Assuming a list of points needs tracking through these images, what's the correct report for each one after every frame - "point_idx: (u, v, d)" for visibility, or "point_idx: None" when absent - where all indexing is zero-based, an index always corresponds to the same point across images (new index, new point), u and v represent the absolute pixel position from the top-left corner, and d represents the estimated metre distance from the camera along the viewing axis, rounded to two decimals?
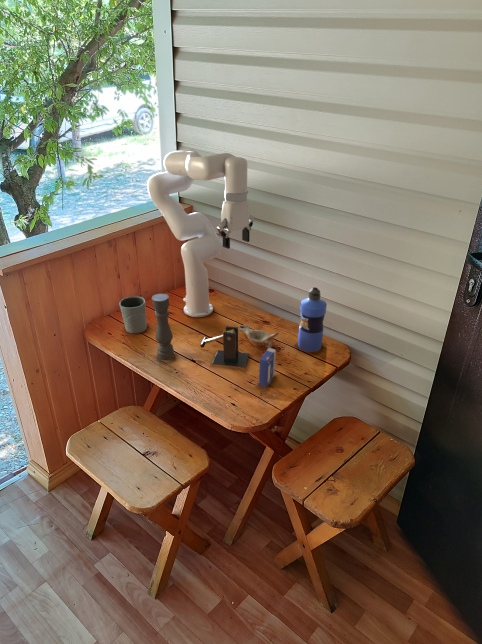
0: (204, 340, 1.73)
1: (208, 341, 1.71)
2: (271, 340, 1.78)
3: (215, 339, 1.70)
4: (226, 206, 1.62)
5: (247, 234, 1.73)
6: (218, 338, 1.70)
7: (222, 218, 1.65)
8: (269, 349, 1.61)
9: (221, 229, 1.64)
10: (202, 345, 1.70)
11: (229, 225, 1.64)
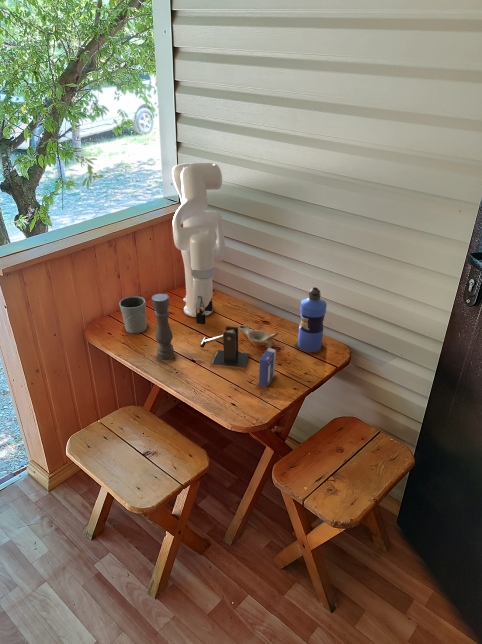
0: (204, 340, 1.73)
1: (208, 341, 1.71)
2: (271, 340, 1.78)
3: (215, 339, 1.70)
4: (199, 284, 1.56)
5: (210, 304, 1.70)
6: (218, 338, 1.70)
7: (195, 296, 1.58)
8: (269, 349, 1.61)
9: (199, 308, 1.57)
10: (202, 345, 1.70)
11: (205, 301, 1.59)
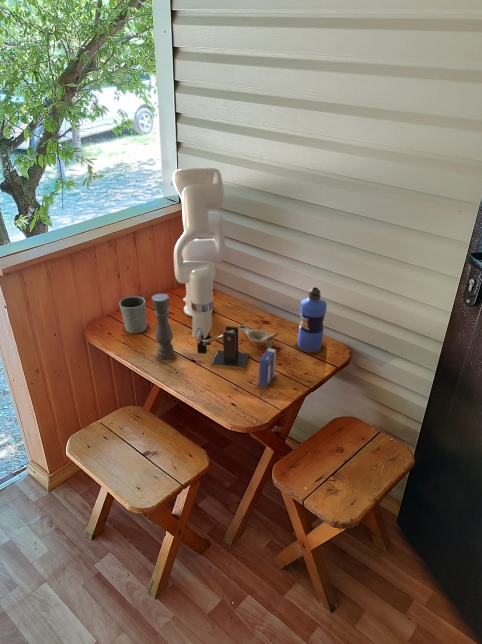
0: None
1: (208, 341, 1.71)
2: (271, 340, 1.78)
3: (215, 339, 1.70)
4: (199, 317, 1.62)
5: (208, 338, 1.75)
6: (218, 338, 1.70)
7: (194, 328, 1.64)
8: (269, 349, 1.61)
9: (200, 341, 1.65)
10: None
11: (205, 333, 1.65)
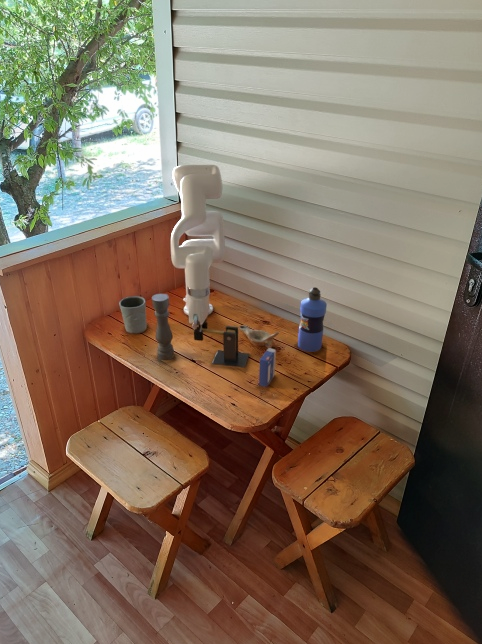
0: (202, 328, 1.70)
1: (205, 331, 1.69)
2: (271, 340, 1.78)
3: (213, 332, 1.69)
4: (195, 302, 1.59)
5: (205, 325, 1.72)
6: (217, 332, 1.69)
7: (191, 314, 1.61)
8: (269, 349, 1.61)
9: (197, 327, 1.62)
10: None
11: (201, 319, 1.62)
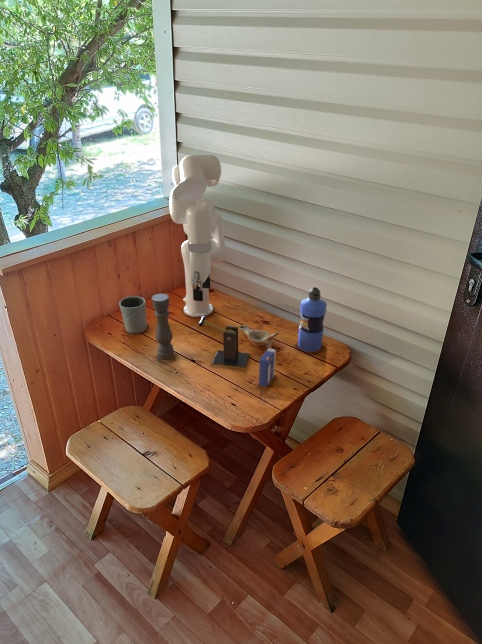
0: (204, 319, 1.68)
1: (207, 324, 1.68)
2: (271, 340, 1.78)
3: (214, 327, 1.68)
4: (196, 258, 1.50)
5: (208, 281, 1.64)
6: (218, 329, 1.68)
7: (191, 271, 1.52)
8: (269, 349, 1.61)
9: (196, 283, 1.52)
10: (201, 324, 1.66)
11: (202, 277, 1.53)
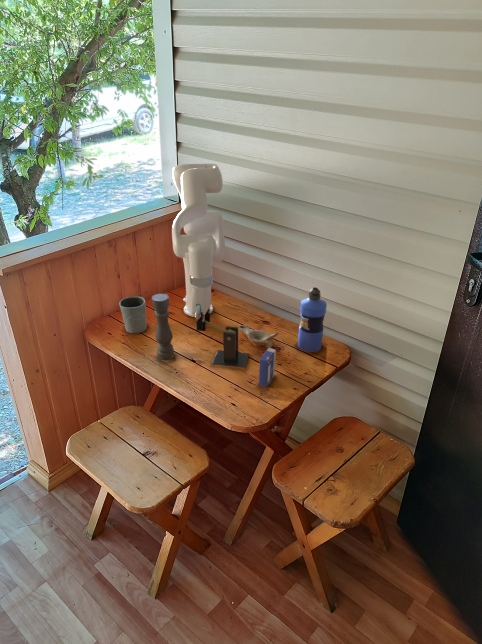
0: None
1: (207, 324, 1.68)
2: (271, 340, 1.78)
3: (214, 327, 1.68)
4: (198, 292, 1.57)
5: (208, 316, 1.69)
6: (218, 329, 1.68)
7: (193, 304, 1.59)
8: (269, 349, 1.61)
9: (199, 317, 1.60)
10: None
11: (204, 309, 1.59)
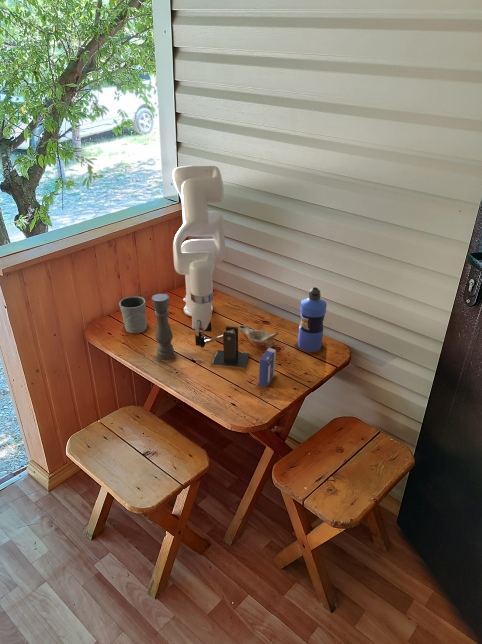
0: None
1: (208, 341, 1.71)
2: (271, 340, 1.78)
3: (215, 339, 1.70)
4: (198, 309, 1.60)
5: (209, 325, 1.74)
6: (218, 338, 1.70)
7: (194, 320, 1.63)
8: (269, 349, 1.61)
9: None
10: None
11: (204, 325, 1.63)
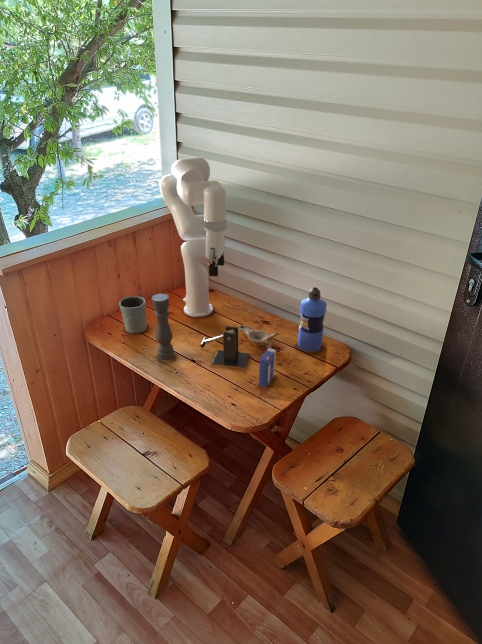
0: (204, 340, 1.73)
1: (208, 341, 1.71)
2: (271, 340, 1.78)
3: (215, 339, 1.70)
4: (212, 235, 1.62)
5: (222, 258, 1.76)
6: (218, 338, 1.70)
7: (208, 248, 1.64)
8: (269, 349, 1.61)
9: (212, 259, 1.63)
10: (202, 345, 1.70)
11: (218, 253, 1.65)
